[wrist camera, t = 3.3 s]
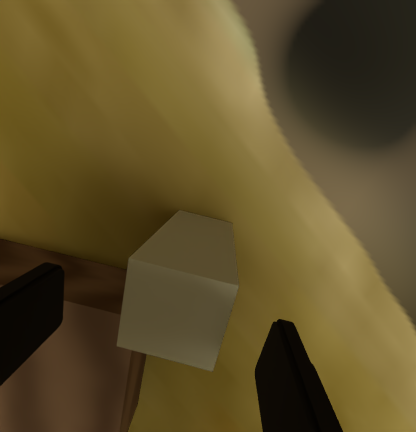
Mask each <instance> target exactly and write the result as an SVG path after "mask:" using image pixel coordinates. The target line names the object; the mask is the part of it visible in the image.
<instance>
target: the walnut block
mask: <svg viewBox="0 0 416 432" xmlns="http://www.w3.org/2000/svg"><path fill="white" fill-rule="evenodd" d="M45 262H49V263H53V264H57V265H60V266H61V267H62V269H63V270H64V272H65V276H64V306H63V321H62V323H61V325H60V326H59V328H58V329H57V330H56V331H55V332H54V333H53V334H52V335H51V336H50V337H49V338H48V339H47V340H46V341H45V342H44V343H43V344H42V345H41V346H40V347H39V348H38V349H37V350H36V351H35V352H34V353H33V354H32V355H31V356H30V357H29V358H28V359H27V360H26V361H25V362H24V363H23V364H22V365H21V366H20V367H19V368H18V369H17V370H16V371H15V372H14V373H13V374H12V375H11V376H10V377H9V378H8V379H7V380H6V381H5V382H4V383H3V384H2V385H1V386H0V432H127V431H128V429H129V426H130V423H131V421H132V418H133V415H134V412H135V410H136V407H137V404H138V399H139V394H140V388H141V382H142V377H143V371H144V365H145V360H146V354H145V353H141V352H137V351H133V350H129V349H126V348H122V347H118V346H117V339H118V332H119V325H120V318H121V310H122V303H123V296H124V289H125V282H126V274H127V270H125V269H121V268H117V267H113V266H109V265H104V264H100V263H96V262H92V261H88V260H84V259H80V258H76V257H72V256H68V255H64V254H60V253H56V252H51V251H47V250H43V249H39V248H35V247H31V246H27V245H23V244H19V243H15V242H11V241H7V240H2V239H0V287H2V286H4V285H5V284H7V283H9V282H11V281H12V280H14V279H16V278H18V277H20V276H21V275H23V274H25V273H27V272H28V271H30V270H32V269H34V268H35V267H37V266H39V265H41V264H42V263H45Z"/></svg>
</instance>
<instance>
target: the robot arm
mask: <svg viewBox="0 0 416 432" xmlns="http://www.w3.org/2000/svg"><path fill="white" fill-rule="evenodd" d="M64 276H65V272H64V270H63V269H62V267H61V266H60V265H57V264H53V263H49V262H45V263H42V264H41V265H39V266H37V267H35V268H34V269H32V270H30V271H28V272H27V273H25V274H23V275H21V276H20V277H18V278H16V279H14V280H12V281H11V282H9V283H7V284H5V285H4V286H2V287H0V386H1V385H2V384H3V383H4V382H5V381H6V380H7V379H8V378H9V377H10V376H11V375H12V374H13V373H14V372H15V371H16V370H17V369H18V368H19V367H20V366H21V365H22V364H23V363H24V362H25V361H26V360H27V359H28V358H29V357H30V356H31V355H32V354H33V353H34V352H35V351H36V350H37V349H38V348H39V347H40V346H41V345H42V344H43V343H44V342H45V341H46V340H47V339H48V338H49V337H50V336H51V335H52V334H53V333H54V332H55V331H56V330H57V329H58V328H59V326H60V325H61V323H62V321H63V306H64ZM255 380H256V387H257V394H258V401H259V408H260V415H261V422H262V429H263V432H343V430H342V428H341V426H340V424H339V421H338V419H337V417H336V415H335V412H334V410H333V408H332V405H331V403H330V401H329V399H328V396H327V394H326V392H325V390H324V387H323V385H322V383H321V380H320V378H319V376H318V374H317V371H316V369H315V367H314V366H313V364H312V363H311V362H310V360H309V357H308V355H307V353H306V350H305V348H304V346H303V343H302V341H301V339H300V336H299V334H298V332H297V329H296V327H295V325H294V323H293V322H290V321H286V320H281V319H278V320H277V322H273V324H272V326H271V329H270V331H269V334H268V336H267V339H266V342H265V344H264V347H263V349H262V352H261V354H260V357H259V360H258V362H257V365H256V368H255Z"/></svg>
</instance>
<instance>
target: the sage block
mask: <svg viewBox="0 0 416 432" xmlns="http://www.w3.org/2000/svg"><path fill="white" fill-rule="evenodd" d="M238 288H239V281H238V272H237V262H236V253H235V244H234V235H233V225H232V223H230V222H226V221H222V220H218V219H214V218H210V217H206V216H202V215H198V214H193V213H189V212H185V211H181V210H179V211H178V212H177V213H176V214H175V215H173V216H172V217H171V218H170V219H169V220H168V221H167V222H166V223H165V224H164V225H163V226H162V227H161V228H160V229H159V230H158V231H157V232H156V233H155V234H154V235H152V236H151V237H150V238H149V239H148V240H147V241H146V242H145V243H144V244H143V245H142V246H141V247H140V248H139V249H138V250H137V251H136V252H135V253H134V254H133V255H131V256H130V257H129V260H128V267H127V274H126V282H125V289H124V296H123V303H122V310H121V318H120V325H119V332H118V339H117V346H118V347H122V348H126V349H129V350H133V351H137V352H141V353H145V354H148V355H152V356H156V357H160V358H163V359H167V360H171V361H175V362H178V363H182V364H186V365H190V366H193V367H197V368H201V369H205V370H209V371H212V372H213V369H214V366H215V363H216V359H217V356H218V353H219V350H220V346H221V343H222V340H223V337H224V333H225V330H226V327H227V324H228V320H229V317H230V314H231V311H232V307H233V304H234V301H235V297H236V294H237V291H238Z"/></svg>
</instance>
